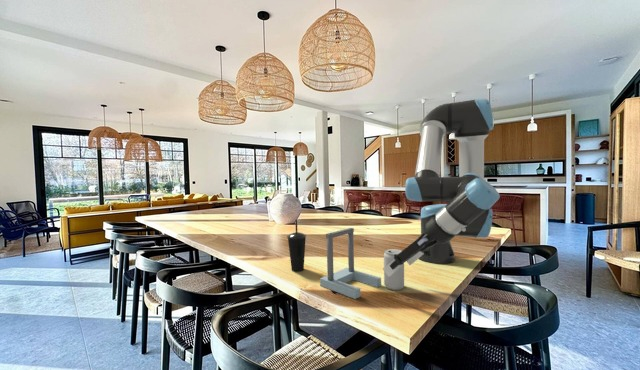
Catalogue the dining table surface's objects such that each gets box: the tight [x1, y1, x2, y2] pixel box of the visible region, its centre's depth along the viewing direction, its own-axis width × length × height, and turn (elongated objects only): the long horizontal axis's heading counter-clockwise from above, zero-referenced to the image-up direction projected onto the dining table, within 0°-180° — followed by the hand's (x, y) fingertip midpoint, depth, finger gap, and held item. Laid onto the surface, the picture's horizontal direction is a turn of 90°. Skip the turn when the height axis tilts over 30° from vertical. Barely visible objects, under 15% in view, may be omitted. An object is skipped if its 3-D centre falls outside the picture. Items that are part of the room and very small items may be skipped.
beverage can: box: [383, 248, 405, 291], centre depth 90 cm, size 6×6×12 cm
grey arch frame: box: [319, 227, 382, 300], centre depth 92 cm, size 15×14×18 cm
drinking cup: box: [286, 219, 307, 272], centre depth 109 cm, size 8×8×20 cm
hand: (397, 267), depth 88 cm, fingers open, 13 cm apart
